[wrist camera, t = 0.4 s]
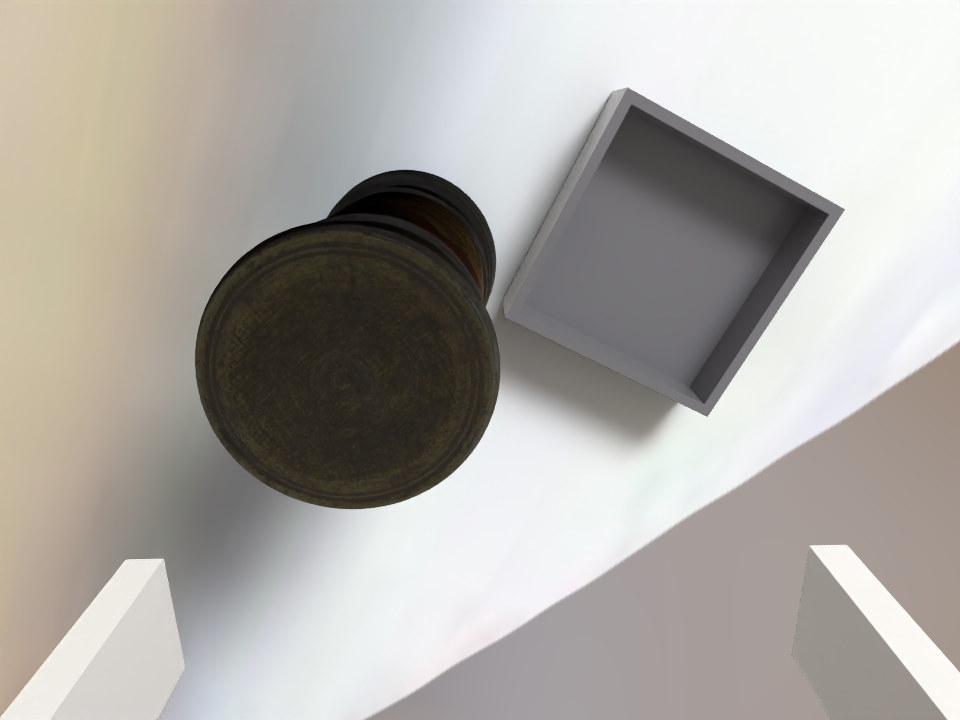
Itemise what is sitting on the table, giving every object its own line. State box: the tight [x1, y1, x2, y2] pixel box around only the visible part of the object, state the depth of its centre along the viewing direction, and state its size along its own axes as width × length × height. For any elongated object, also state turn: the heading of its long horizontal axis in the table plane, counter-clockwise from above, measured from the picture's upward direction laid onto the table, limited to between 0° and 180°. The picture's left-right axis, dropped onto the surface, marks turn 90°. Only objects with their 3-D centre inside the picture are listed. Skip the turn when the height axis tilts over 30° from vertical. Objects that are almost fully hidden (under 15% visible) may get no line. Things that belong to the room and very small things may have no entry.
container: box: [195, 170, 500, 509], centre depth 27 cm, size 9×9×18 cm
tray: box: [503, 88, 845, 417], centre depth 34 cm, size 12×12×4 cm
